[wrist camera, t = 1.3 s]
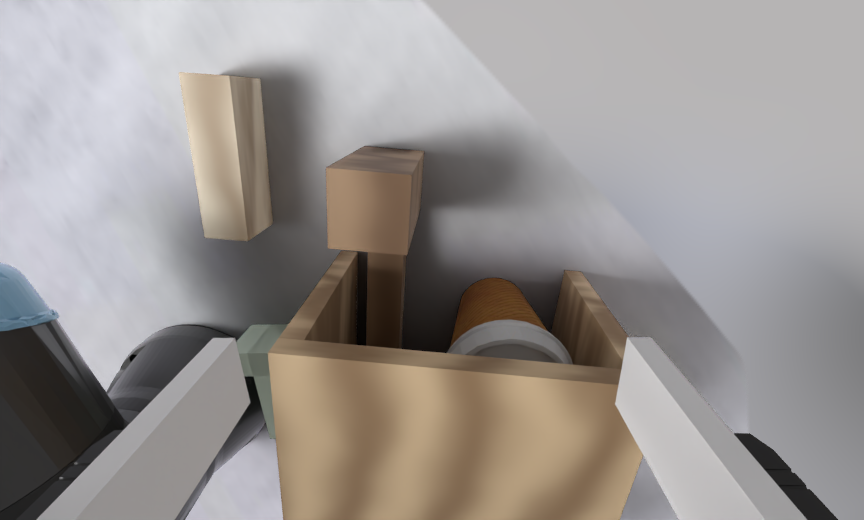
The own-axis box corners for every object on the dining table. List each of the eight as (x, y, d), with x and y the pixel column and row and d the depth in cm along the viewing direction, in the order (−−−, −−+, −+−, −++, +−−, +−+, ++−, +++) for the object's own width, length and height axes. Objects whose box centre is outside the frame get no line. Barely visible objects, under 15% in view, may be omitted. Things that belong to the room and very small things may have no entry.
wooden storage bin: (342, 382, 43) (284, 533, 28) (341, 250, 37) (267, 352, 22) (550, 401, 43) (602, 565, 28) (581, 271, 37) (667, 389, 22)
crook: (361, 366, 42) (332, 453, 32) (364, 146, 34) (325, 167, 23) (515, 381, 42) (535, 472, 32) (557, 162, 33) (602, 191, 23)
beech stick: (235, 220, 37) (204, 237, 32) (217, 75, 32) (178, 72, 28) (273, 223, 37) (247, 241, 32) (261, 78, 32) (229, 75, 28)
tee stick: (271, 403, 45) (250, 438, 40) (251, 324, 41) (225, 353, 36) (333, 402, 44) (319, 438, 39) (319, 323, 40) (302, 352, 36)
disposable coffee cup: (441, 261, 37) (436, 332, 26) (546, 260, 37) (587, 332, 26) (443, 349, 41) (440, 444, 30) (539, 349, 40) (572, 446, 29)
